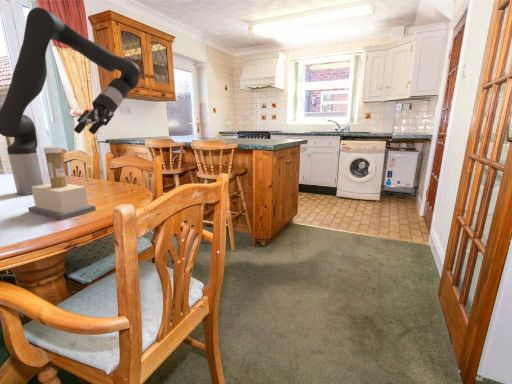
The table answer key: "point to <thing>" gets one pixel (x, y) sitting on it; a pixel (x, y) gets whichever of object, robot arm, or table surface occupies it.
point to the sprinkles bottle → (55, 166)
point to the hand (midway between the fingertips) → (83, 132)
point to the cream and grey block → (60, 201)
